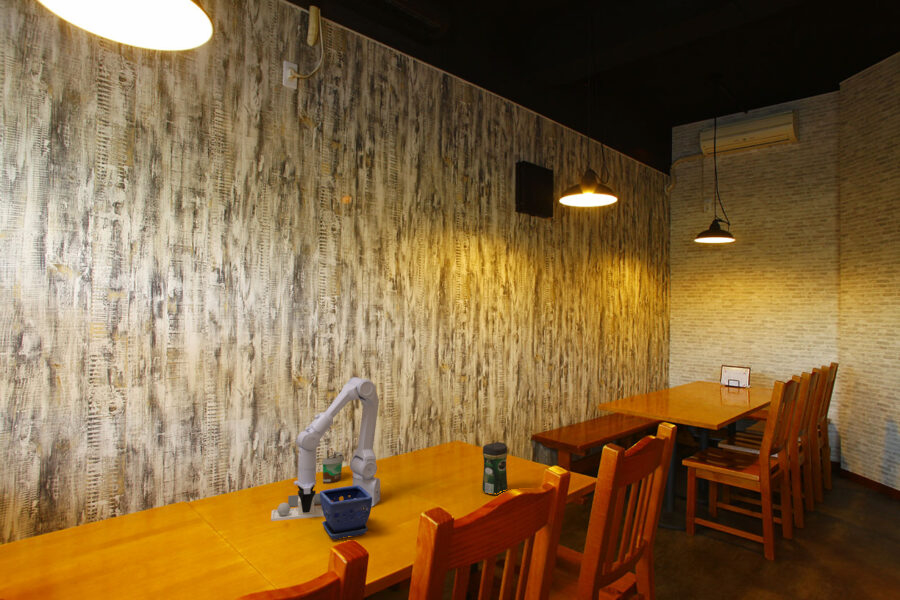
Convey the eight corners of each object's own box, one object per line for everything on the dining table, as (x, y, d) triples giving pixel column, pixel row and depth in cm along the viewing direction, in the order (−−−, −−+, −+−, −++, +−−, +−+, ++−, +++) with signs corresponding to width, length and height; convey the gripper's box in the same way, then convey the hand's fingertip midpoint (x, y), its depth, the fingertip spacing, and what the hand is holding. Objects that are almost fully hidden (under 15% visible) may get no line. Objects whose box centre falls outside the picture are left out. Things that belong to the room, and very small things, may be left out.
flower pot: (328, 545, 150) (329, 503, 150) (317, 528, 162) (318, 489, 162) (372, 537, 156) (373, 496, 157) (359, 521, 168) (359, 484, 168)
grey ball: (292, 513, 172) (292, 501, 172) (285, 518, 168) (286, 505, 169) (281, 512, 173) (281, 500, 173) (274, 517, 169) (275, 504, 169)
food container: (336, 485, 203) (336, 460, 203) (321, 484, 204) (322, 458, 204) (348, 476, 215) (349, 452, 215) (334, 475, 216) (335, 451, 216)
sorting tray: (337, 507, 180) (337, 504, 180) (339, 515, 172) (339, 512, 172) (271, 513, 173) (271, 510, 173) (271, 521, 166) (271, 518, 166)
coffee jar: (494, 486, 205) (495, 439, 206) (510, 491, 200) (511, 442, 200) (478, 492, 198) (479, 443, 199) (494, 497, 193) (495, 447, 193)
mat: (319, 495, 192) (319, 493, 192) (321, 505, 181) (321, 503, 181) (288, 497, 189) (288, 495, 189) (288, 508, 178) (288, 506, 178)
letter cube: (313, 510, 176) (313, 494, 176) (313, 515, 171) (314, 499, 171) (297, 511, 175) (298, 496, 175) (298, 516, 170) (298, 501, 170)
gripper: (294, 462, 179) (293, 502, 179) (294, 475, 165) (293, 518, 165) (315, 461, 181) (314, 500, 181) (317, 473, 167) (316, 516, 167)
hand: (305, 509), depth 173 cm, fingers closed on letter cube, 5 cm apart
